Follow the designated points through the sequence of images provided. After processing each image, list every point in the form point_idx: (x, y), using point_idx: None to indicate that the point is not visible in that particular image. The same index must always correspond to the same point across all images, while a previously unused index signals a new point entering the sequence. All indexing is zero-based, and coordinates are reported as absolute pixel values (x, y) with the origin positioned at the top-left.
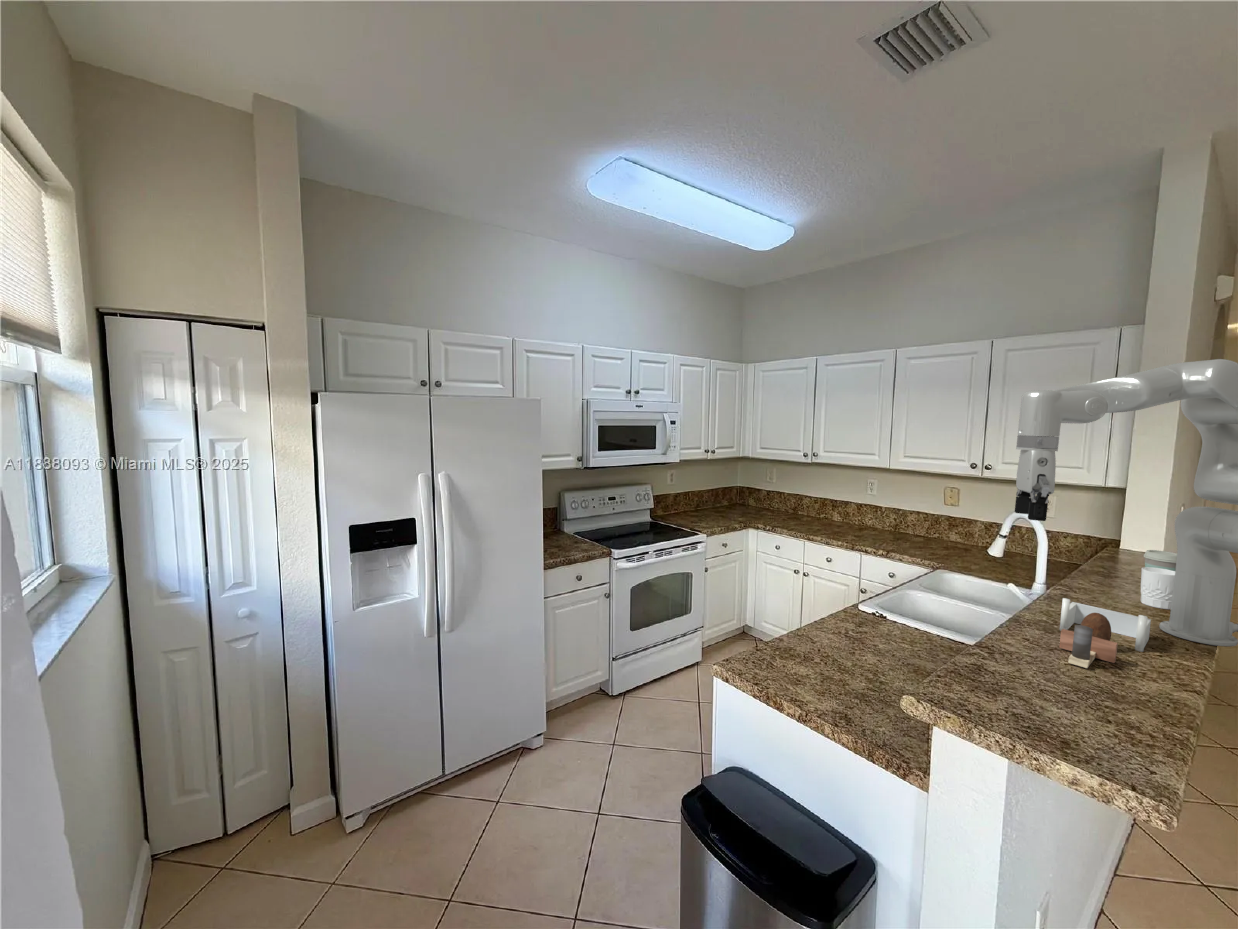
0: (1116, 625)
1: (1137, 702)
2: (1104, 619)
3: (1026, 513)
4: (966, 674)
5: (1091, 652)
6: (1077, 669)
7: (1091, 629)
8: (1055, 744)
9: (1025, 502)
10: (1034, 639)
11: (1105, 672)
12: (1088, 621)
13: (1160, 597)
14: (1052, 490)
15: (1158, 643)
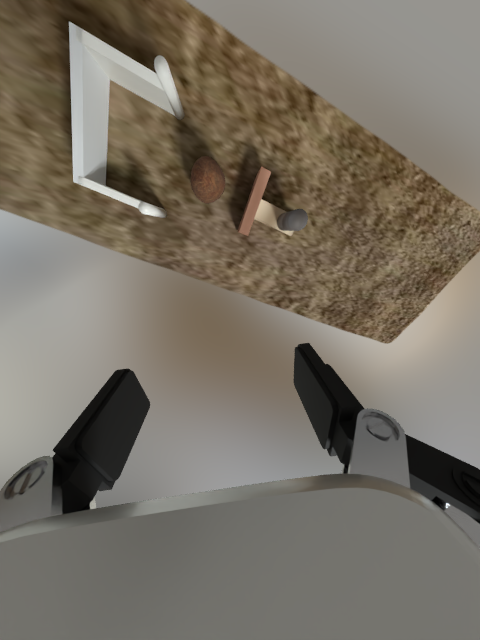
0: (99, 116)
1: (360, 189)
2: (213, 165)
3: (136, 380)
4: (344, 318)
5: (262, 204)
6: None
7: (302, 210)
8: (437, 276)
9: (113, 434)
10: (225, 256)
11: (293, 198)
12: (215, 192)
13: None
14: (475, 543)
15: None
